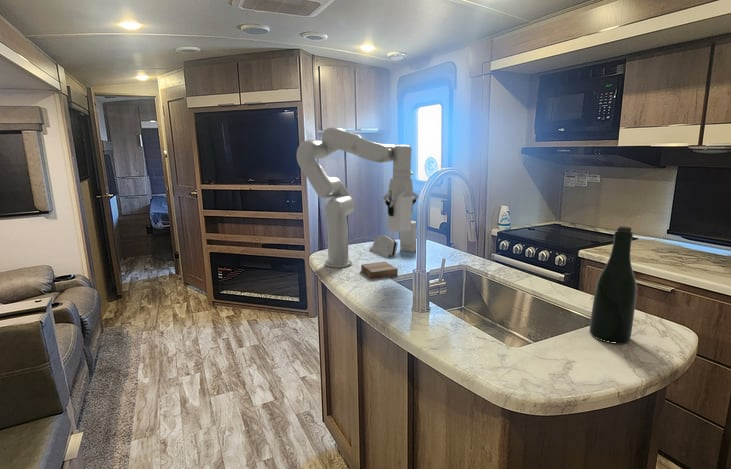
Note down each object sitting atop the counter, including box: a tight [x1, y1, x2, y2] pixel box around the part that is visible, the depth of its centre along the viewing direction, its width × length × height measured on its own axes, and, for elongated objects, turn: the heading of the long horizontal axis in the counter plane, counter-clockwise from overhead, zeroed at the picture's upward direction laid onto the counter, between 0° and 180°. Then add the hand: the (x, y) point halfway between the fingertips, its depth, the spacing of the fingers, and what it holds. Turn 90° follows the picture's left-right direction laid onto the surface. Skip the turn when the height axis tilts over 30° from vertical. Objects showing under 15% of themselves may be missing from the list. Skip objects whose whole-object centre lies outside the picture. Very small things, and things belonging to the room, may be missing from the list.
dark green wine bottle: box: [588, 226, 638, 344], centre depth 115 cm, size 10×10×33 cm
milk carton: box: [387, 187, 413, 233], centre depth 174 cm, size 7×7×19 cm
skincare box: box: [399, 220, 416, 253], centre depth 214 cm, size 8×7×16 cm
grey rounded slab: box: [369, 235, 398, 258], centre depth 210 cm, size 17×5×10 cm, turn 34°
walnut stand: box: [360, 261, 399, 280], centre depth 177 cm, size 12×12×3 cm
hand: (399, 215), depth 175 cm, fingers closed on milk carton, 8 cm apart
